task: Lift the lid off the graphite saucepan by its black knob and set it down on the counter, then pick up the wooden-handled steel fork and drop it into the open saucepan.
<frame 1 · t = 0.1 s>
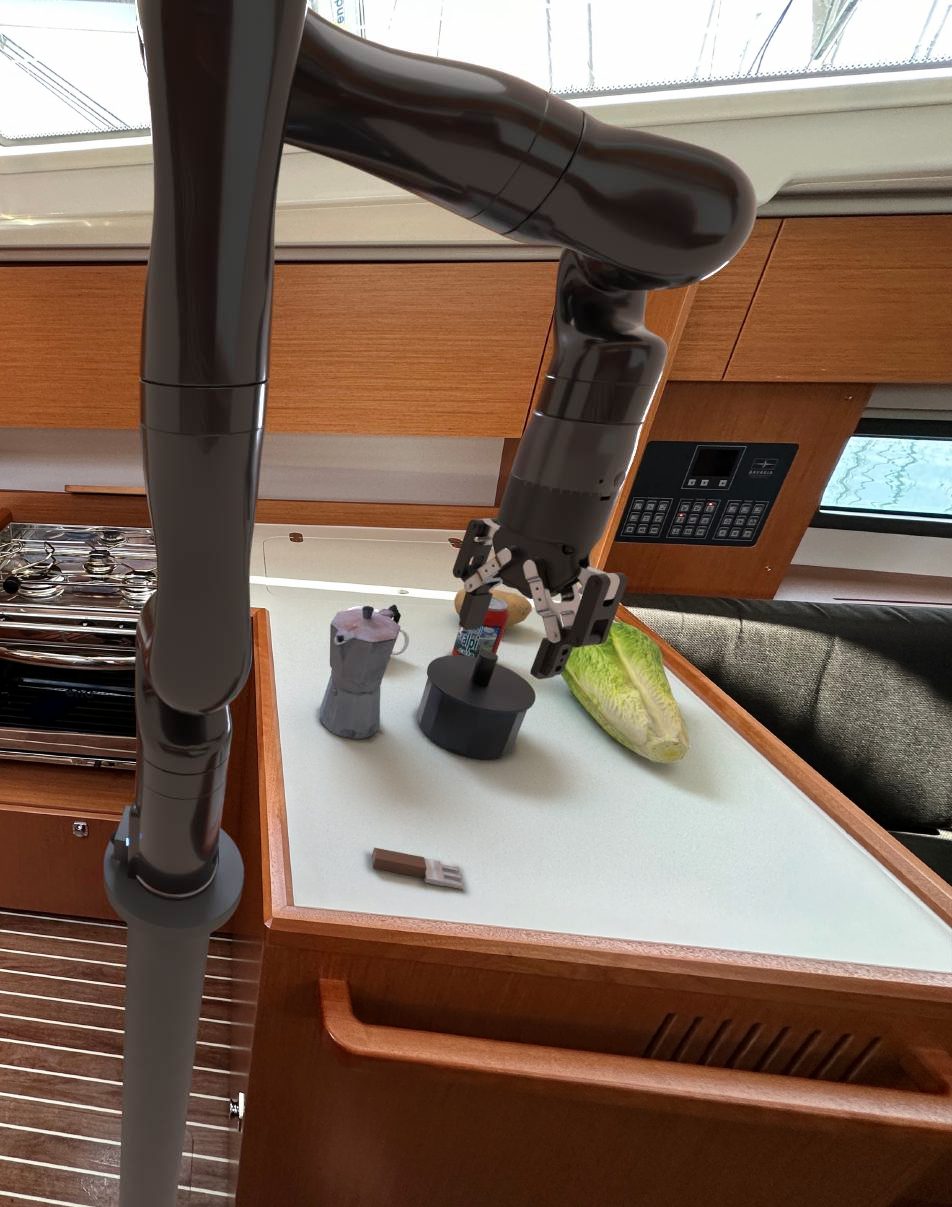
hand: (503, 650, 55), 30 cm above the worktop, tool pointing down, fingers open, 8 cm apart
pot lid: (479, 683, 89), point 8 cm above the worktop, touching pot
fork: (408, 869, 69), on the worktop
moka pot: (347, 720, 94), on the worktop
beverage can: (470, 661, 111), on the worktop
lettuce: (612, 722, 96), on the worktop
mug: (369, 655, 111), on the worktop
pot: (463, 730, 93), on the worktop
potato: (484, 627, 123), on the worktop
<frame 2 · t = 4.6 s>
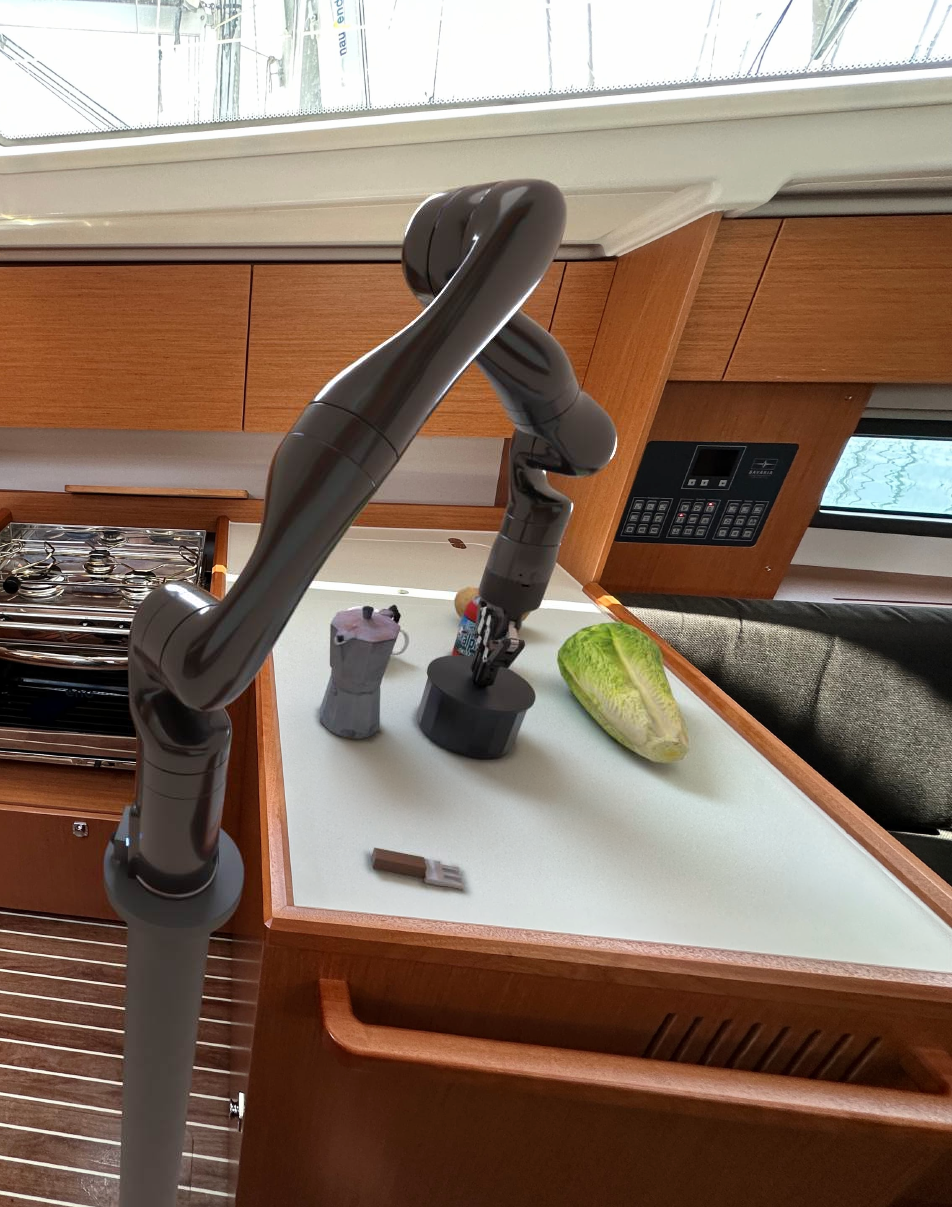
hand: (481, 677, 88), 10 cm above the worktop, tool pointing down, fingers closed on pot lid, 2 cm apart
pot lid: (479, 683, 89), point 9 cm above the worktop, touching gripper, pot
everything else where it was.
when the fingers open (2 cm above the worktop, at t = 10.4 s): pot lid stays where it is, point 1 cm above the worktop.
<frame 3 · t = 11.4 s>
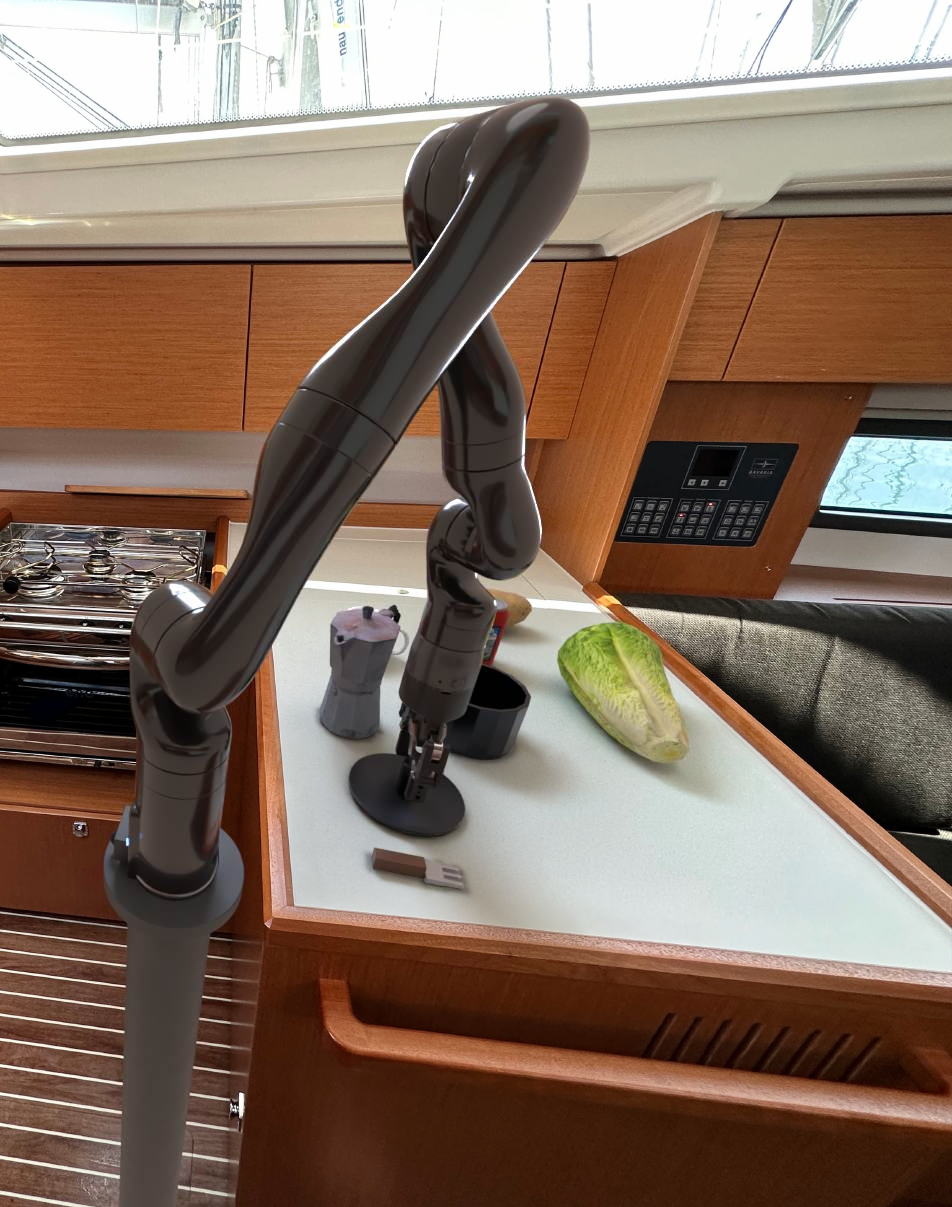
hand: (408, 776, 78), 4 cm above the worktop, tool pointing down, fingers open, 8 cm apart
pot lid: (404, 792, 80), point 1 cm above the worktop
everything else where it was.
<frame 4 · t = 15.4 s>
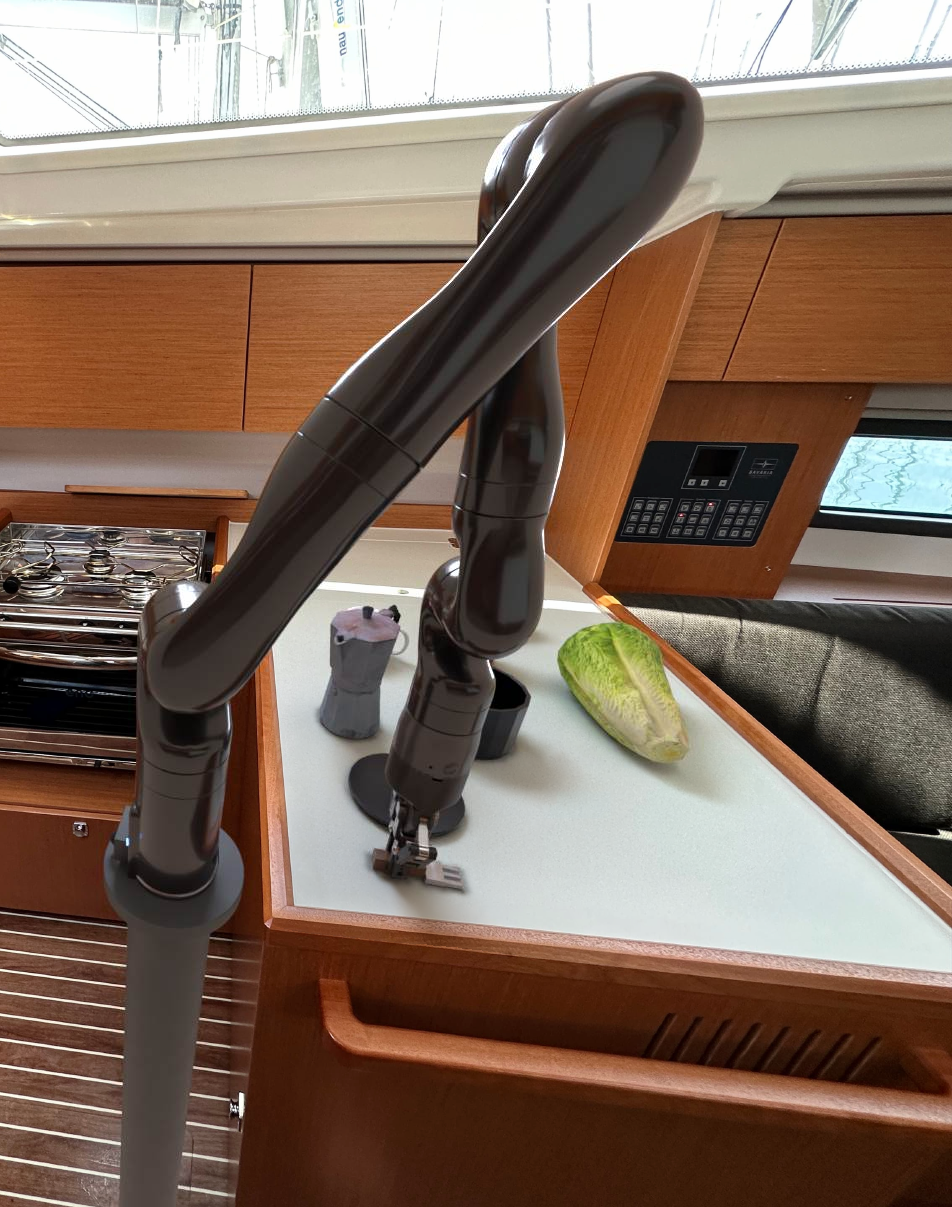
hand: (394, 867, 70), 0 cm above the worktop, tool pointing down, fingers closed on fork, 1 cm apart
fork: (408, 870, 69), on the worktop, touching gripper
everything else where it was.
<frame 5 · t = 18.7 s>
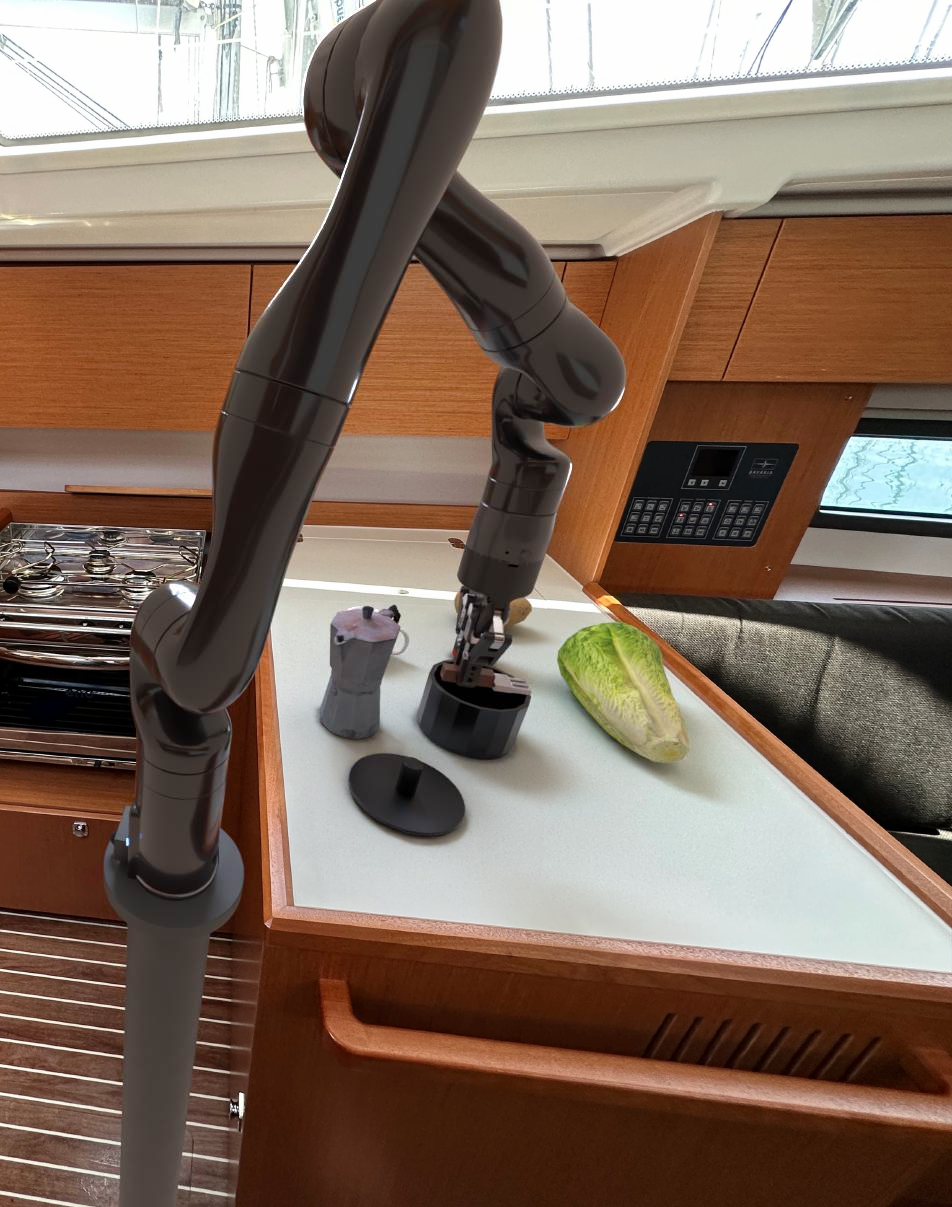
hand: (463, 679, 73), 17 cm above the worktop, tool pointing down, fingers closed on fork, 1 cm apart
fork: (476, 682, 73), point 17 cm above the worktop, touching gripper
everything else where it was.
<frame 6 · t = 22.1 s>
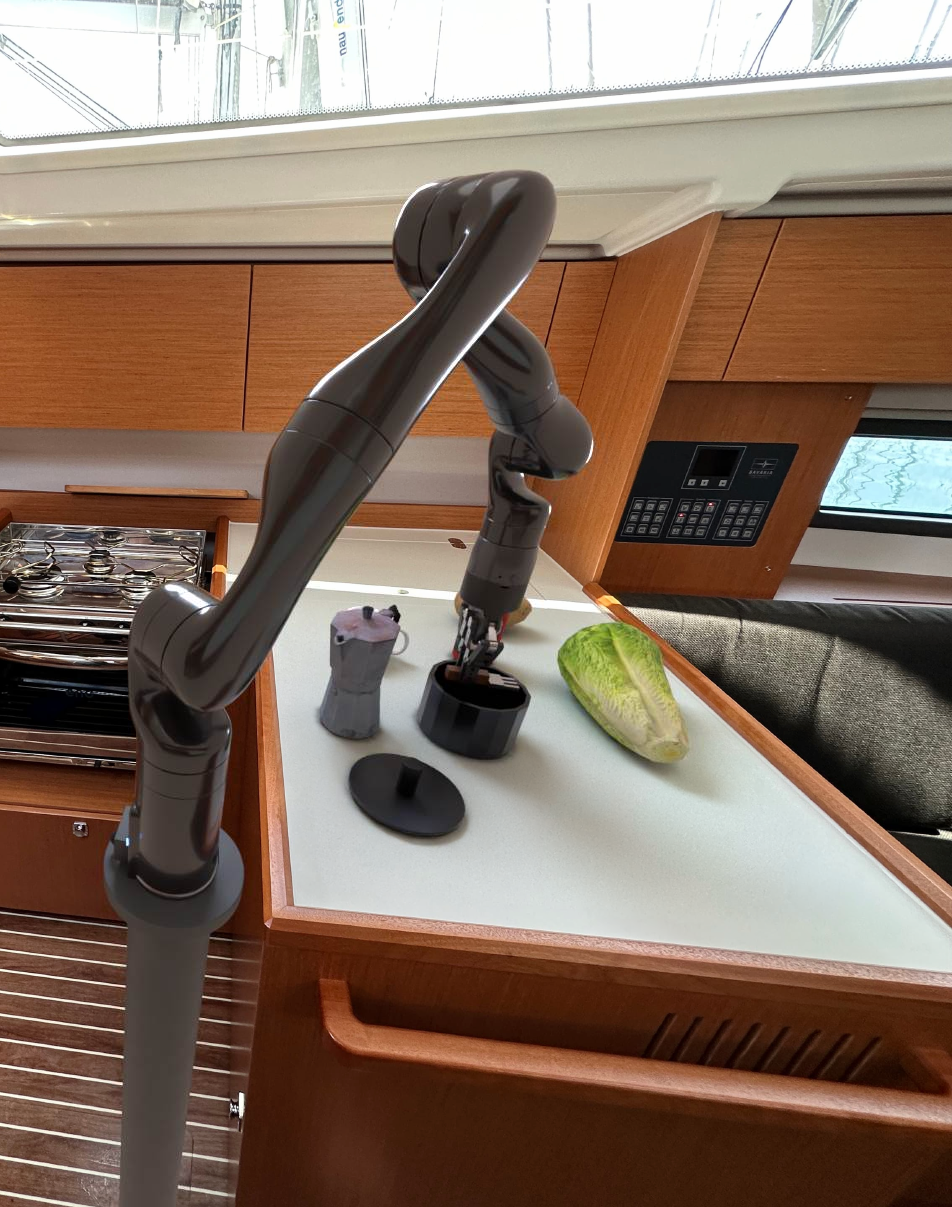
hand: (463, 678, 89), 9 cm above the worktop, tool pointing down, fingers closed on fork
fork: (474, 680, 89), point 9 cm above the worktop, touching gripper
everything else where it was.
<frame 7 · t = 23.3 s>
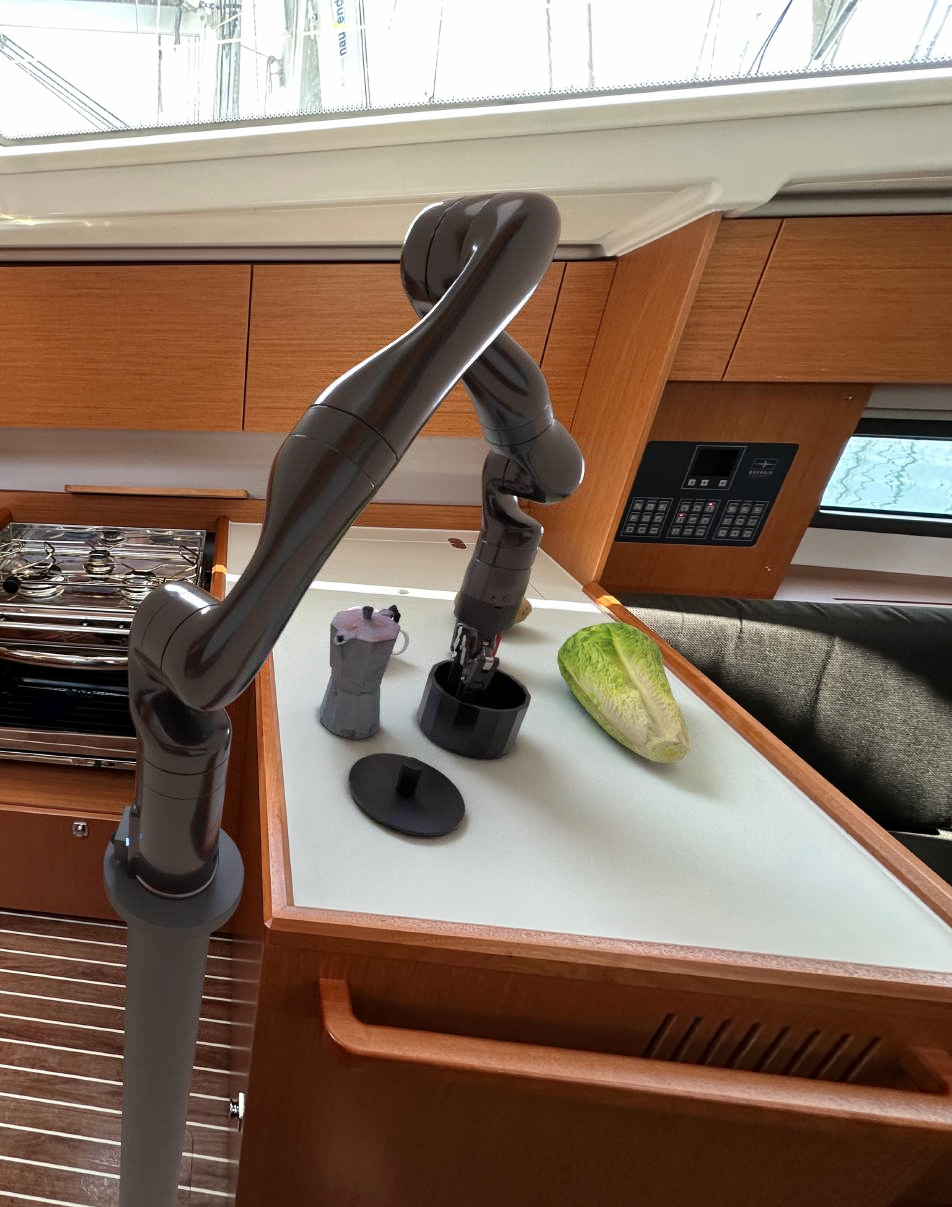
hand: (458, 693, 90), 6 cm above the worktop, tool pointing down, fingers open, 4 cm apart
fork: (459, 726, 92), resting on pot
everything else where it was.
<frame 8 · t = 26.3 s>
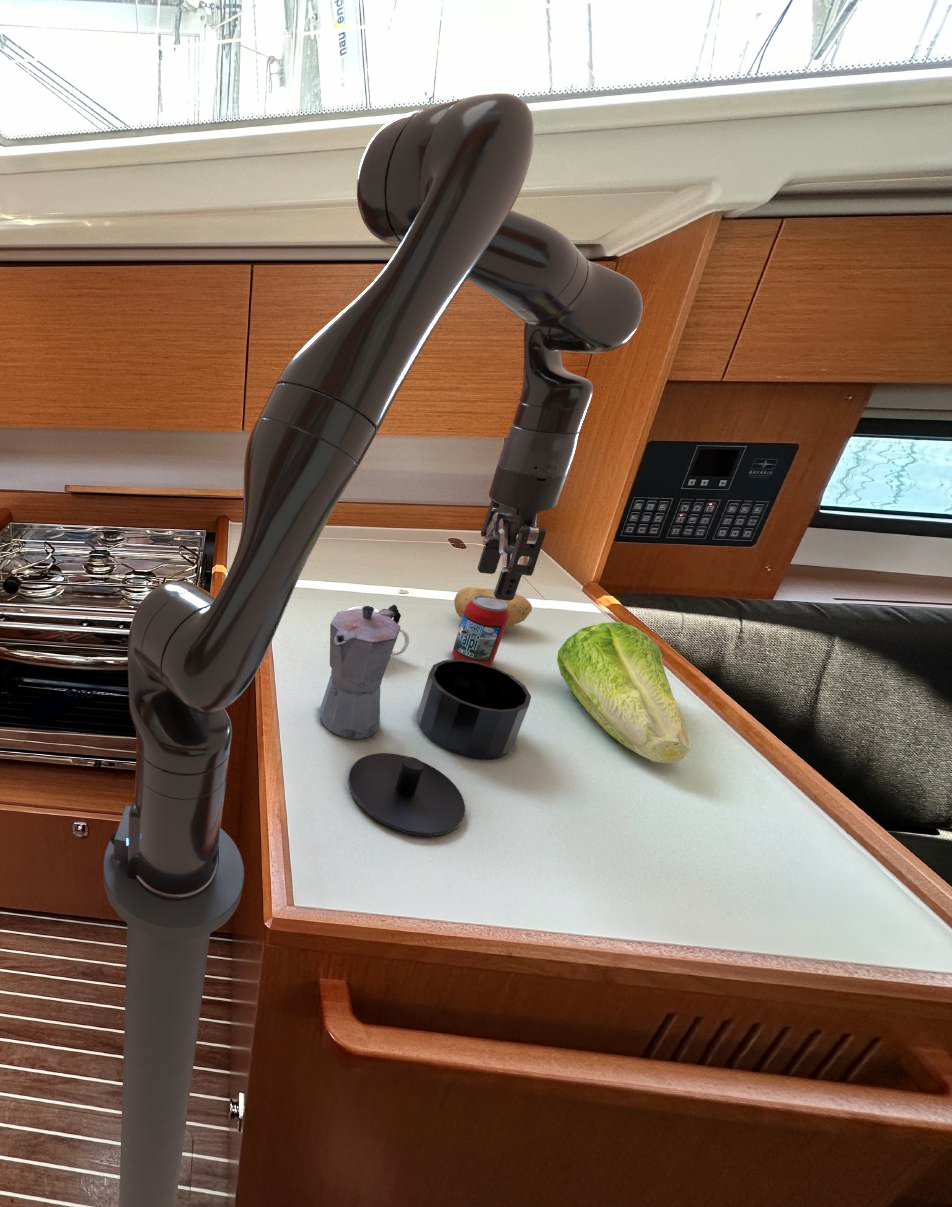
hand: (493, 585, 82), 24 cm above the worktop, tool pointing down, fingers open, 8 cm apart
nothing on the worktop moved.
at the end: pot lid inside the target area (0.1 cm from its centre), point 0.6 cm above the worktop; fork inside the target area in the pot (0.7 cm from its centre), point 0.5 cm above the pot's base; the gripper is holding nothing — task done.
